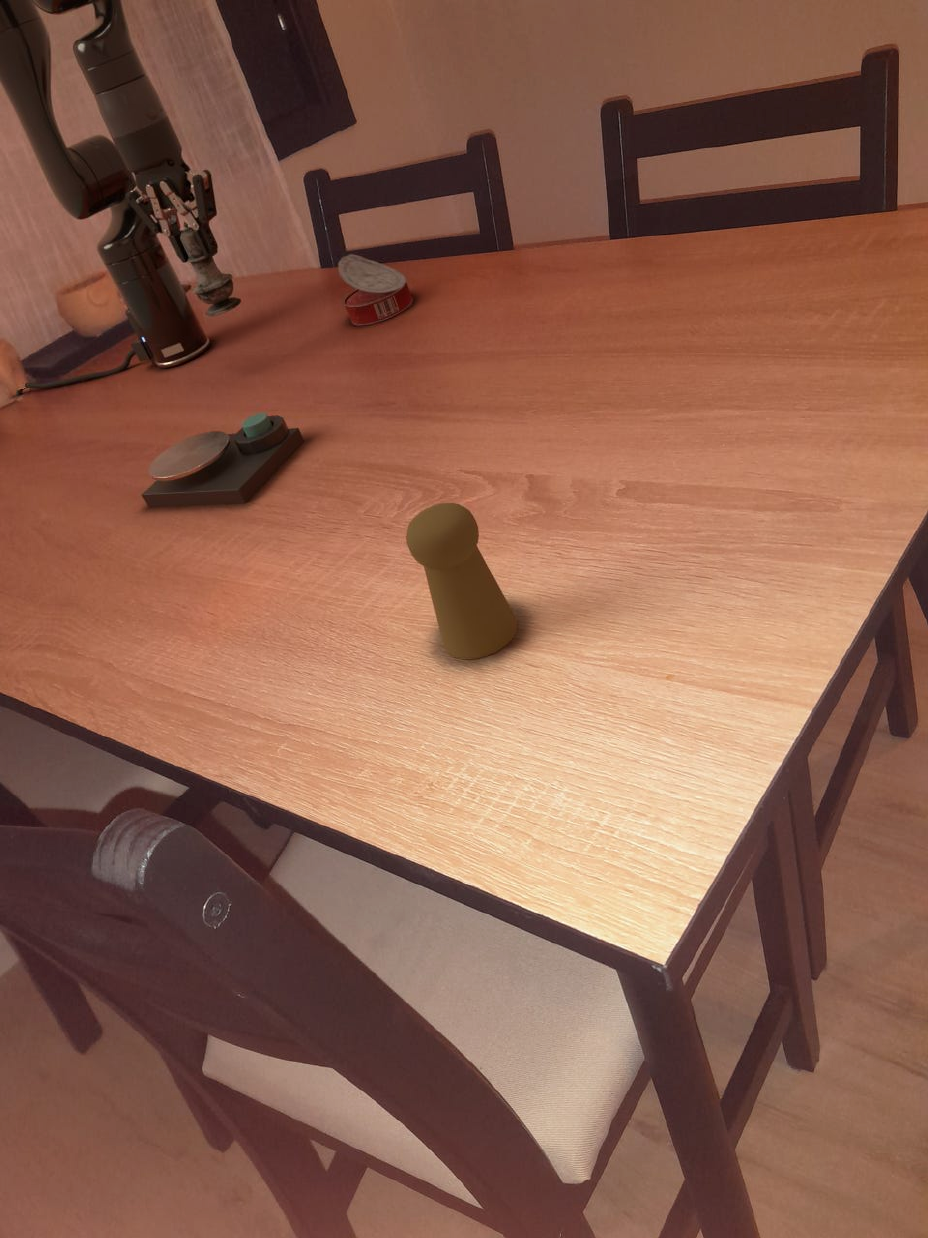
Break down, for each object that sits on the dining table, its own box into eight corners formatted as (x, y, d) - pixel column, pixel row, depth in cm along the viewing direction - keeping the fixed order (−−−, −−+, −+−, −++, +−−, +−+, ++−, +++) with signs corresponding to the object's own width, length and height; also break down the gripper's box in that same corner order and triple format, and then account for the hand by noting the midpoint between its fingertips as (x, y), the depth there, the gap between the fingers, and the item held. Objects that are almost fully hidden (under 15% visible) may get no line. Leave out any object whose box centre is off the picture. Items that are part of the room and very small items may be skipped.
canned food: (394, 326, 149) (397, 258, 146) (422, 329, 141) (425, 257, 138) (326, 322, 144) (327, 252, 141) (350, 325, 135) (352, 250, 132)
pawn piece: (440, 621, 76) (393, 507, 69) (512, 599, 75) (471, 481, 69) (445, 668, 71) (394, 550, 64) (523, 645, 70) (479, 523, 64)
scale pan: (133, 483, 109) (131, 479, 109) (184, 437, 116) (182, 433, 116) (197, 479, 104) (195, 475, 104) (246, 431, 111) (244, 428, 111)
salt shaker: (233, 311, 130) (194, 223, 123) (197, 320, 132) (156, 234, 125) (249, 294, 134) (211, 209, 127) (213, 303, 136) (174, 219, 129)
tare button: (242, 439, 111) (236, 427, 110) (256, 425, 113) (251, 413, 112) (263, 437, 109) (257, 425, 108) (277, 423, 111) (272, 411, 110)
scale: (148, 508, 111) (133, 483, 109) (213, 446, 120) (200, 422, 118) (246, 504, 104) (231, 476, 102) (307, 439, 113) (295, 412, 111)
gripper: (197, 101, 118) (255, 238, 128) (117, 126, 125) (178, 254, 135) (161, 120, 113) (224, 261, 123) (80, 144, 120) (146, 276, 130)
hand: (200, 257), depth 129 cm, fingers closed on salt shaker, 3 cm apart
